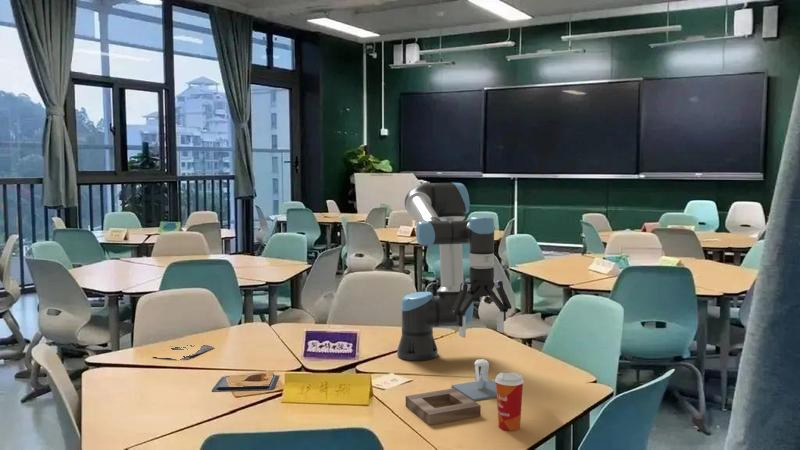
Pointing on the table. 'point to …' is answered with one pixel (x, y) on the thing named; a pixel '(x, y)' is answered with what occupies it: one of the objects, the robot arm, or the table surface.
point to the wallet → (223, 386)
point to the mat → (474, 393)
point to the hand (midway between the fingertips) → (481, 334)
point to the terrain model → (202, 350)
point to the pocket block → (457, 411)
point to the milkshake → (481, 374)
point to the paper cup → (509, 400)
